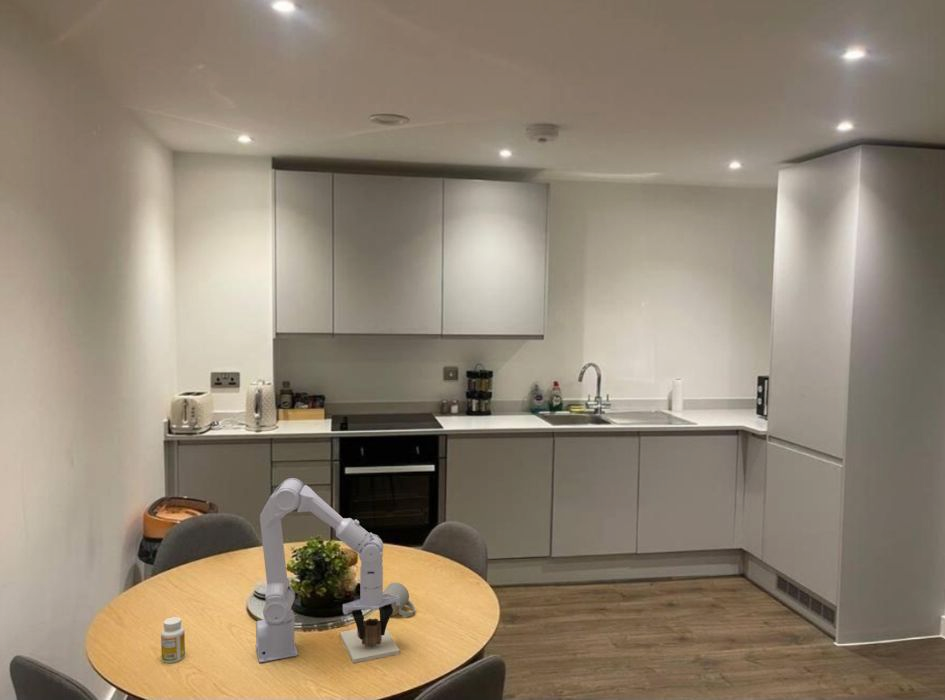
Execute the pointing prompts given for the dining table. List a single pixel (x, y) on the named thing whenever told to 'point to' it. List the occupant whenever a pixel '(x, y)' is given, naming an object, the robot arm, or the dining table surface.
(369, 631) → the walnut pinion gear
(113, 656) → the dining table surface
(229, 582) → the dining table surface
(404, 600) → the ceramic mug
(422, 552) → the dining table surface
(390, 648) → the gear board
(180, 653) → the supplement bottle
